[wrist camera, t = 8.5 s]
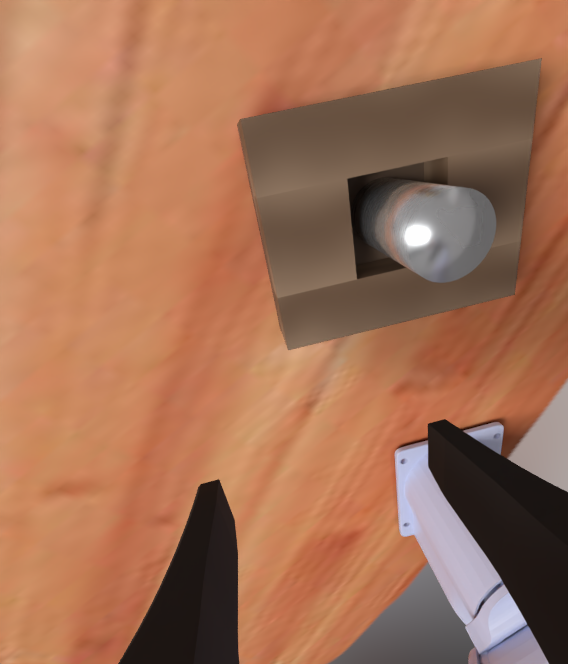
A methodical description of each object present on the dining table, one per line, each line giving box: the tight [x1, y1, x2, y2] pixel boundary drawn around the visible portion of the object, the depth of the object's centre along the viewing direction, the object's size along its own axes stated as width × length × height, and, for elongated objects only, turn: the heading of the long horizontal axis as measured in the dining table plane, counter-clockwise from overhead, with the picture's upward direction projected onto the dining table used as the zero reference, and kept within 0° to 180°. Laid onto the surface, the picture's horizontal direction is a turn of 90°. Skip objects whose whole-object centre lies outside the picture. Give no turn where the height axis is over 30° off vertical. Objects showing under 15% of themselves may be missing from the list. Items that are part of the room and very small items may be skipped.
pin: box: [351, 177, 496, 283], centre depth 15 cm, size 3×3×6 cm
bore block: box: [237, 58, 542, 350], centre depth 17 cm, size 10×12×2 cm
